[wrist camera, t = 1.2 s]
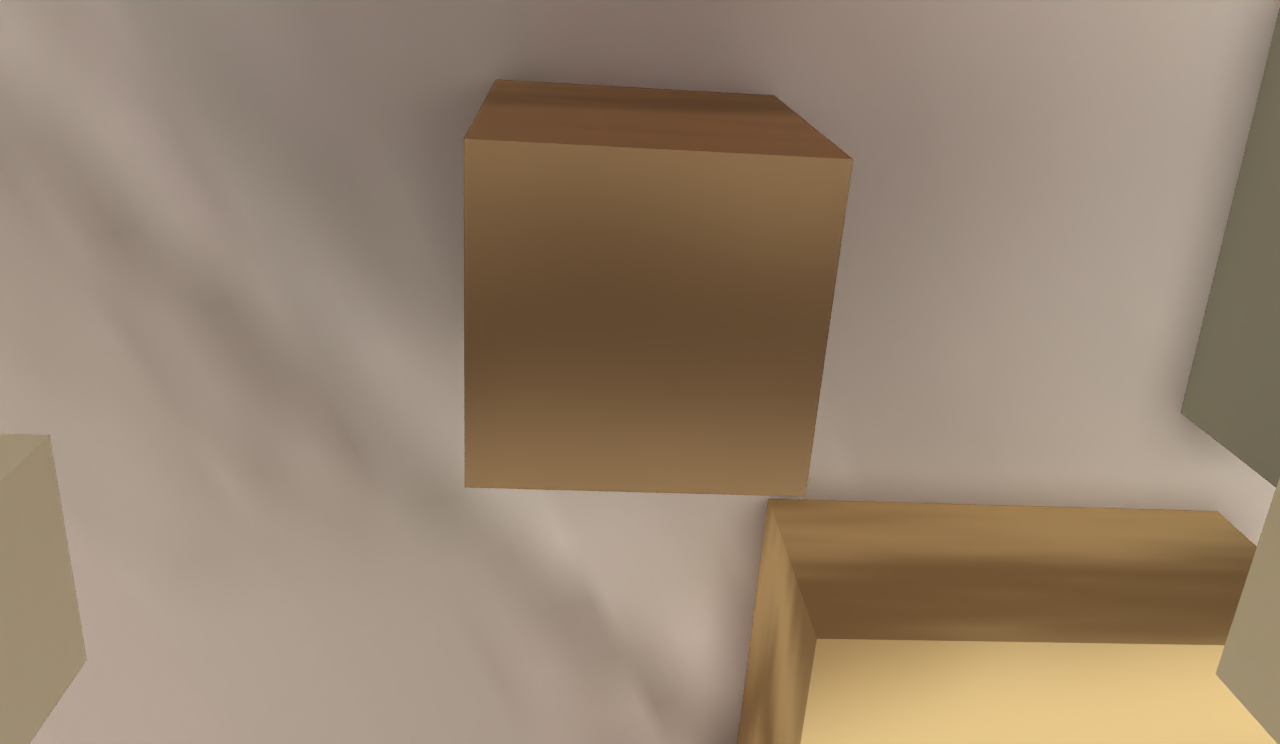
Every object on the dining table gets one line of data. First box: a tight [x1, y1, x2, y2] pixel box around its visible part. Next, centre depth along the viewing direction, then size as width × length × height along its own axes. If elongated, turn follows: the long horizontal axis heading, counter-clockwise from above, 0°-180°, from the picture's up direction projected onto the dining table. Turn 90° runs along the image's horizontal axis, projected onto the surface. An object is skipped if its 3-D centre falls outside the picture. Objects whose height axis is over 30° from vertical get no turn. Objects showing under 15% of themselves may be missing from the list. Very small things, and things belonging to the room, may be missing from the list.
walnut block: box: [464, 80, 853, 496], centre depth 20 cm, size 6×6×7 cm
